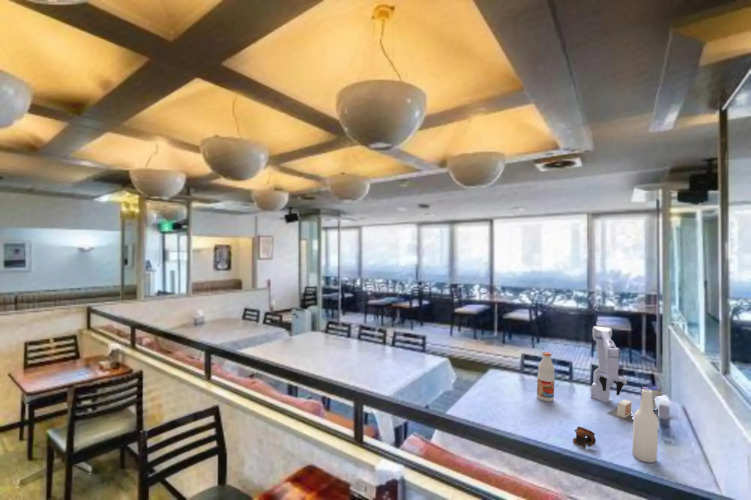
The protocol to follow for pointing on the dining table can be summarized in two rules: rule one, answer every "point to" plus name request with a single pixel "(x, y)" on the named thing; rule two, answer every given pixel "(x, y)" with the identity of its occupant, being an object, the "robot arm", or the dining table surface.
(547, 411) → the dining table surface
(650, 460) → the alcohol
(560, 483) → the dining table surface
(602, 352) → the robot arm
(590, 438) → the pottery mug
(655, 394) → the ink cartridge box
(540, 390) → the fruit juice
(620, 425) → the dining table surface
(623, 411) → the sign slab
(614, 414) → the mat
